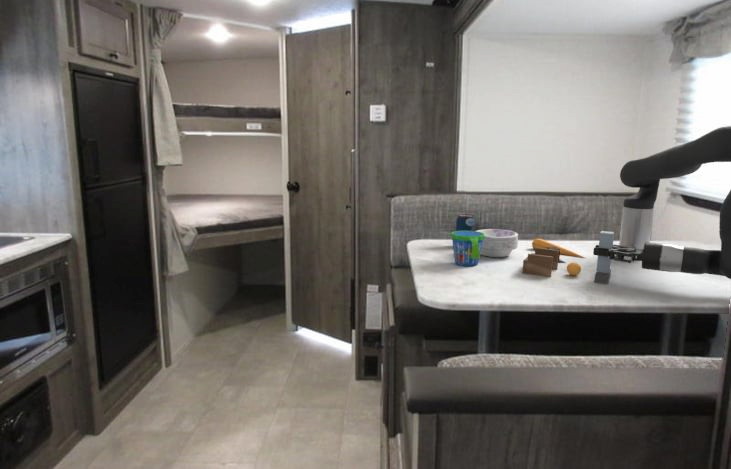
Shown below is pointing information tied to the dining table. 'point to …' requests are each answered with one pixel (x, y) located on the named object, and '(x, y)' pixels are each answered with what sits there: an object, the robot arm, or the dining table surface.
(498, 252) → the paper bowls
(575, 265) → the ball
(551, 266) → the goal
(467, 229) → the soda can
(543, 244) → the carrot
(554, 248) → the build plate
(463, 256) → the snack cup
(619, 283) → the dining table surface
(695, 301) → the dining table surface
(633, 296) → the dining table surface
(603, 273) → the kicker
